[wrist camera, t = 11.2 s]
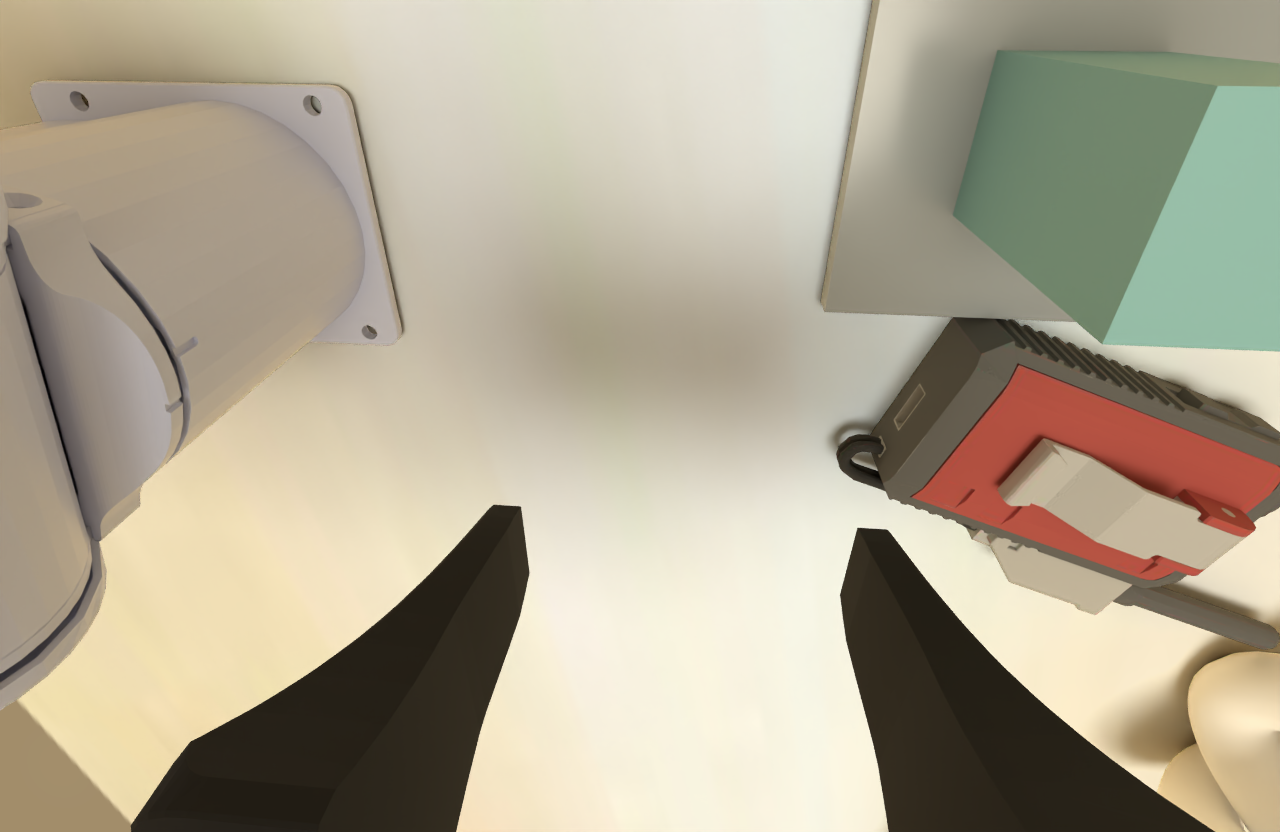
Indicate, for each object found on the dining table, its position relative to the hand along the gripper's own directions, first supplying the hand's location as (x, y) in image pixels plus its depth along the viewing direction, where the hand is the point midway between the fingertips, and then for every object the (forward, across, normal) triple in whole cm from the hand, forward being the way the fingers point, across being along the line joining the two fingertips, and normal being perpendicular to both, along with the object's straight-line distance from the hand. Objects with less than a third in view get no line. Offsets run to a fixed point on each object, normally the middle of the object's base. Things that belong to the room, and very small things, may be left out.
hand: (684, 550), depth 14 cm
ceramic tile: (+9, -9, -7) cm, 15 cm away
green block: (+9, -9, -7) cm, 14 cm away
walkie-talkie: (+10, -15, +5) cm, 19 cm away
